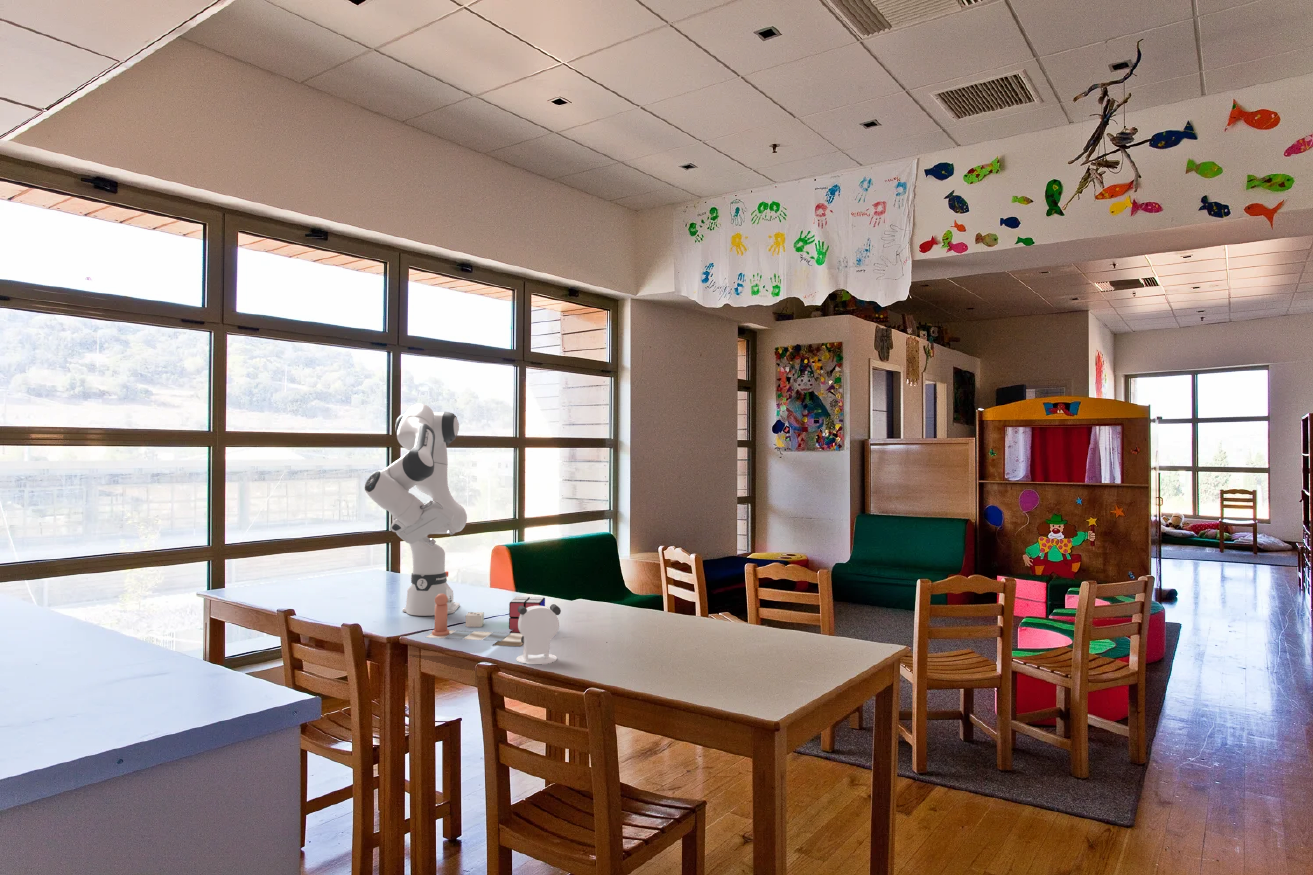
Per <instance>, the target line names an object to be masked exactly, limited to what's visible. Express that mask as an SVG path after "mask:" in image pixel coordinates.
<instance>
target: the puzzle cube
mask: <svg viewBox="0 0 1313 875" xmlns="http://www.w3.org/2000/svg"><path fill="white" fill-rule="evenodd" d="M508 605H509V607H508V608H509V609H508V610H509V611H508V612H509V613H508V617H509V618H508V630H511V631H509V632H508V633H520V631H519V629H518V620H519V617H520V613H519V612H518V607H519V606H524V607H525V608H528V607H531V606H545V607H546V597H545V596H514V598H513V599H512V600H511V601H510V602H509V604H508Z"/></svg>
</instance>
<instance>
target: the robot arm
mask: <svg viewBox="0 0 1313 875" xmlns="http://www.w3.org/2000/svg"><path fill="white" fill-rule="evenodd" d="M459 429H460V425H459V420H458V416H456V414H455V413H452V412H449V411H444V412H441V411H440V412H439V411H433V409H432V408H431V407H430V406H429V405H427V404H425V403H416V404H413V405H411V406H410V407H408V409H407V410H406V411H405V413H403V414H400V415H399V416H398V417H397V418H396V420H395V428H394V430H395V434H396V439H397V442H398V443H399V445H400V446H402V448H403V449H406V450H408V451H407V452H406V453H405V454H403V455H402V456H401V457H400V458H398V459H397V460H395V461H393V462H392V463H391V464H390V465H388V466H387V467H385V468H383V469H382V470H376V471H373V472H372V473H371V474H370V475H369V476H368V477H367V480H366V482H365V484H364V491H365V493H366V494H367V496H369V498H370V499H371V500H372V501H373V502H374V503H375V504H377V506H379V507H380V508H382V509H383V510H385V511H388V512H389V513H390V515H391V524H390V528H389V530H390V531H391V532H393V533H395V534H396V535H397V537H399V538H400V539H401V540H403V541H404V542H405V543H407V544H408V545H409V547H410V549H411V556H412V573H411V576H410V583H411V585H410V586H409V587H408V588H407V593H406V601H405V602H406V604H405V607H403V608H402V611H401V612H404V613H406V614H408V615H410V616H419V617H421V616H423V617H424V616H426V617H428V616H435V605H436V603H435V597H436V596H437V595H438V594H441V593H443V594H445V595H446V596H447V597H448V602H447V604H448V611H447V615H448V614H455V612H456V611H457V609H458V608H459V607H460V606H461V605H460V602H457V601H456V602H455V601H454V590H453V589H452V588H451V586H450V585H449V584H448V583H447V582H448V579H447V578H448V577H449V571H445V569H446V552H445V550H444V548H443V547H442V546H440V545H439V544H436V542H437V541H436V540H435V539H434V538H433V537H431V538H429V537H428V536H429V535H445V534H447V535H450V536H453V535H454V534H456V533H458V532H461V531H463V529H464V528H465V527H466V524H467V522H468V520H467V519H468V514H467V512H466V510H465V508H464V506H462V505H461V504H460V503H459V502H457V501H456V499H455V498H454V497H453V495H452V494H451V492H450V488H449V483H448V482H449V481H448V480H449V479H448V460H449V459H448V450H447V447H448V446H450V444H451V443H452V442H453V441H454V440H456V438H457V437H458V434H459ZM413 487H416V488H417V490H418V491H419V492H422V493H423V494H425V495H427V496H429V497H431V498H432V500H429V501H427V502H423V501H421V500H420V499H419V498H418V497H416V496H415V495H414V494H413V493H410V492H409V491H410V490H411V489H412V488H413Z"/></svg>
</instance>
